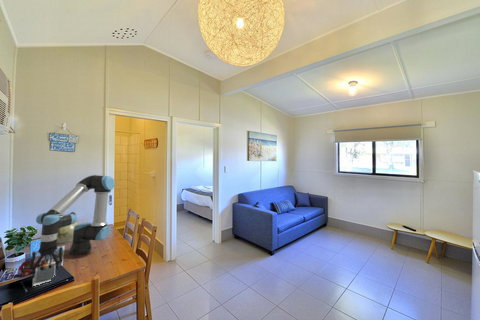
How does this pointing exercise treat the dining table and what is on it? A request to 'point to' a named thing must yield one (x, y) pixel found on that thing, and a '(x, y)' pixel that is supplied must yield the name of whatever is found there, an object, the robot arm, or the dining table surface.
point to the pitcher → (66, 233)
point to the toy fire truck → (25, 270)
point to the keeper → (45, 266)
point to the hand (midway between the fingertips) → (44, 276)
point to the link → (45, 273)
